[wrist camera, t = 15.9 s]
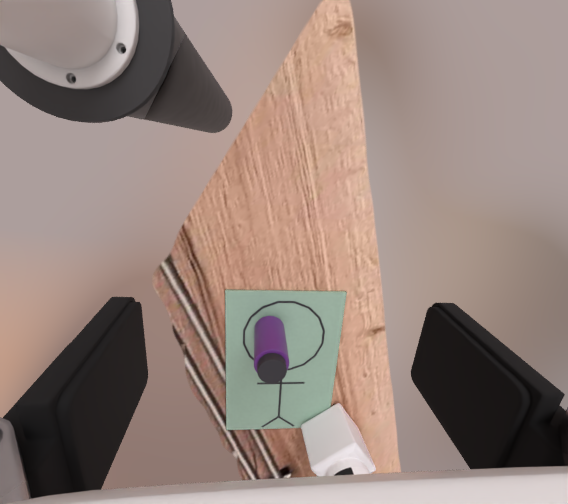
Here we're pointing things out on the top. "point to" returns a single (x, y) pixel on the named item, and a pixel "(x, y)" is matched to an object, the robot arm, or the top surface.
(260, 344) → the cylinder
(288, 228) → the top surface
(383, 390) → the top surface
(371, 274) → the top surface
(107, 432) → the robot arm
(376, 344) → the top surface
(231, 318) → the sketch card
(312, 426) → the medicine bottle
